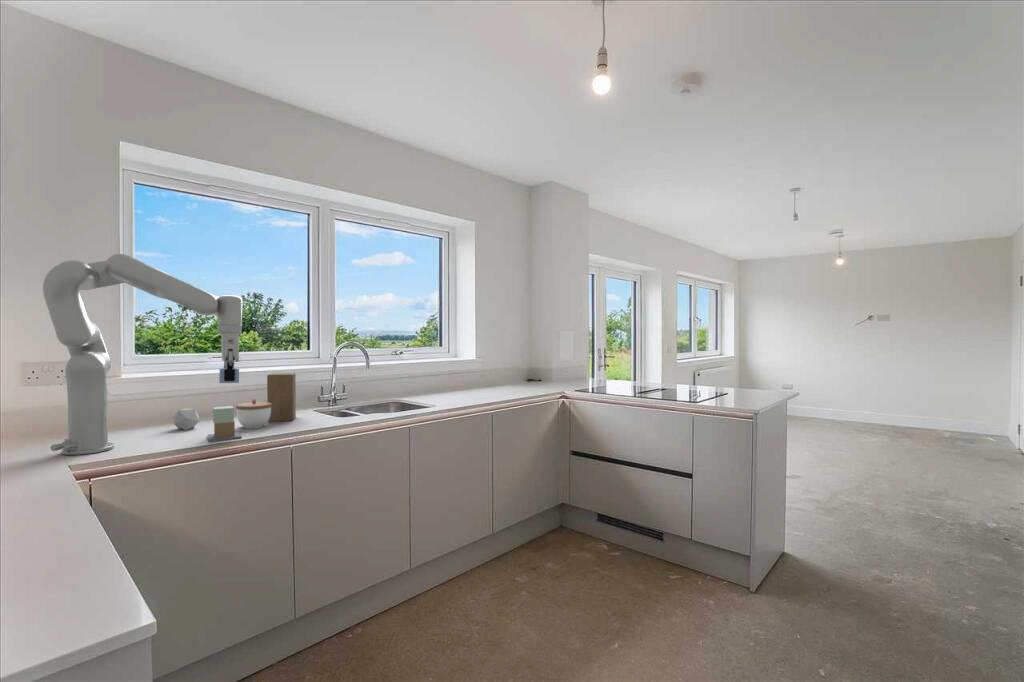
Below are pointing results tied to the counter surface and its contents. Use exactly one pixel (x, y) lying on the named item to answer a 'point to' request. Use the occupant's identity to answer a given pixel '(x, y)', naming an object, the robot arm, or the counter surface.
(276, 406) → the wooden block
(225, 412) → the green brick
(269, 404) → the lidded bowl
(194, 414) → the die
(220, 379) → the light blue block
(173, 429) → the counter surface
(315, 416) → the counter surface
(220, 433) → the tower base
